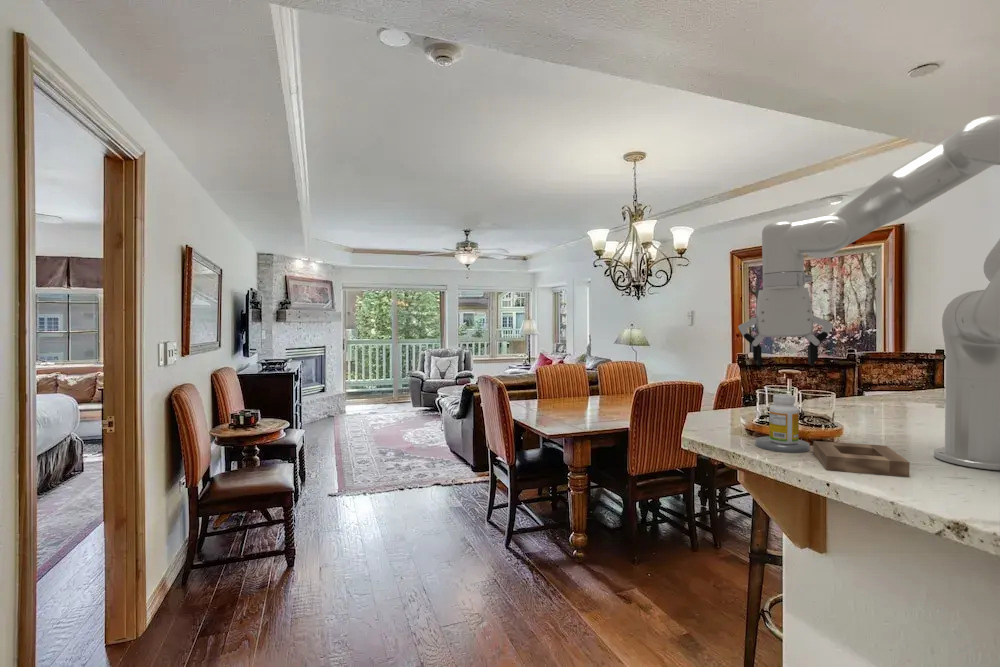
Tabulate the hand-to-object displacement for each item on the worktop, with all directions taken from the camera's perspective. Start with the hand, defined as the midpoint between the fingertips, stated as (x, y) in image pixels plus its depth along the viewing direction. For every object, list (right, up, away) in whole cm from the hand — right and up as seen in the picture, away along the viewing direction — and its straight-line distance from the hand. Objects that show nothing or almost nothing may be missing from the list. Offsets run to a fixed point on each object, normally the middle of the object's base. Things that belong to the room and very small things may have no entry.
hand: (784, 364), depth 107 cm
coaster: (0, -17, +1) cm, 17 cm away
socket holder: (+6, -18, -13) cm, 23 cm away
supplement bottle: (0, -16, 0) cm, 16 cm away
